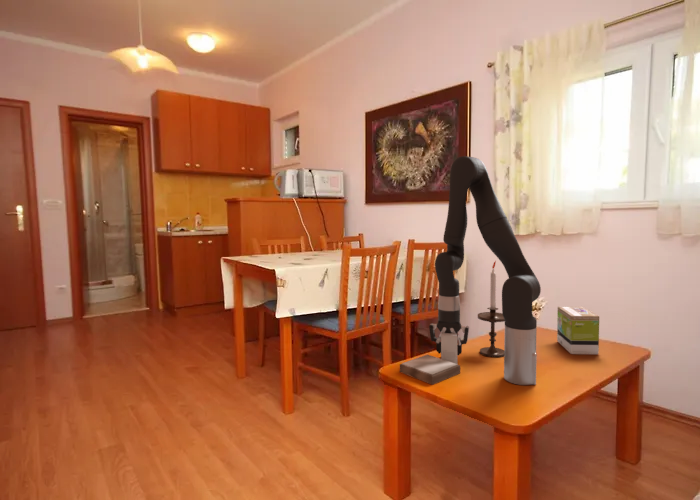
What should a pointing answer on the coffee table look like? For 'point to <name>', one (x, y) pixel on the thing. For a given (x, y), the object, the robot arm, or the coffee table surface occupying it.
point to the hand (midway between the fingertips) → (448, 353)
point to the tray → (430, 369)
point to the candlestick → (492, 320)
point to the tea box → (578, 330)
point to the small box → (449, 347)
